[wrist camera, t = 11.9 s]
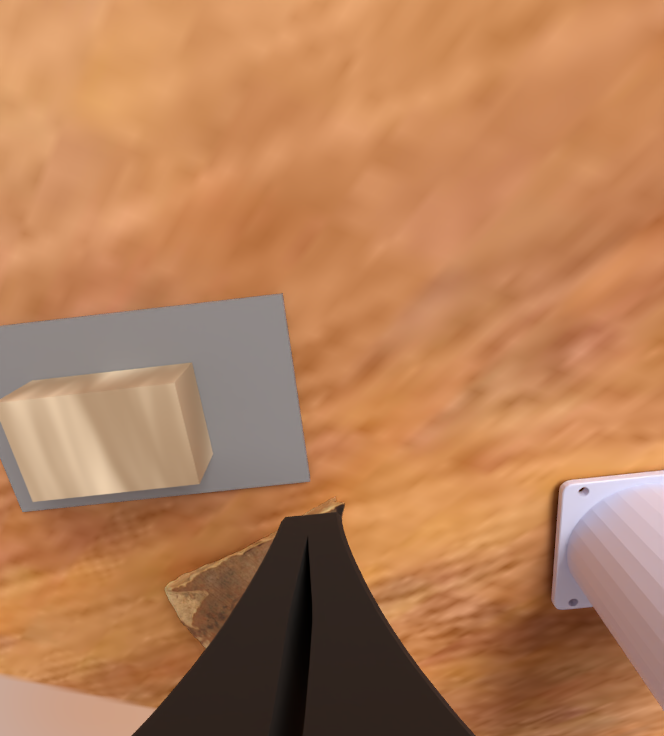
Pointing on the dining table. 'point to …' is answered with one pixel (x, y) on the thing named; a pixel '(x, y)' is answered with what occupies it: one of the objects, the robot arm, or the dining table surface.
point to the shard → (222, 584)
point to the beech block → (108, 432)
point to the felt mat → (213, 376)
